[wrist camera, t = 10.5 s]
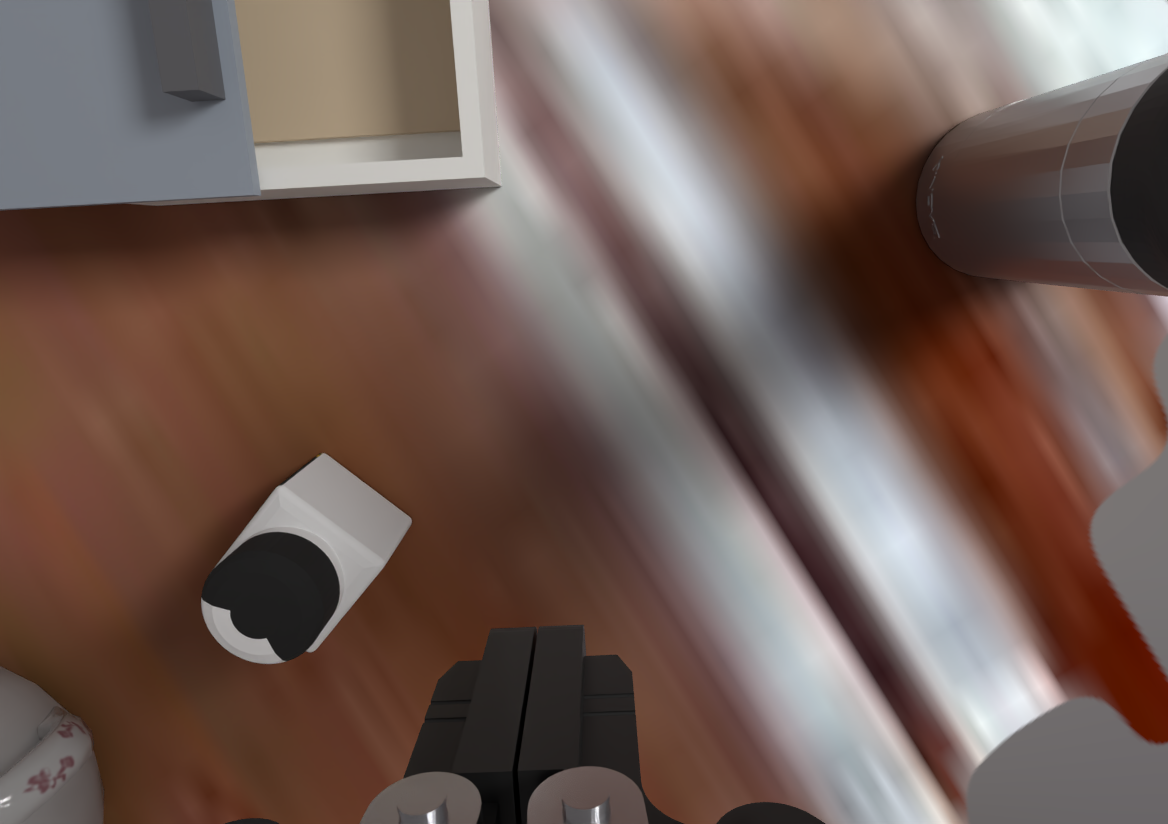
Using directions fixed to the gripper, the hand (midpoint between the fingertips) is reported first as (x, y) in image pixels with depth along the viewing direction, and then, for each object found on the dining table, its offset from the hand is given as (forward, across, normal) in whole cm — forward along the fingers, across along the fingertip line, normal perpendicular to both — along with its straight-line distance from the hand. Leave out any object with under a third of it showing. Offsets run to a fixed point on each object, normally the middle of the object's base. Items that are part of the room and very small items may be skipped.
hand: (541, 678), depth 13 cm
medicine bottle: (+35, +16, +10) cm, 40 cm away
